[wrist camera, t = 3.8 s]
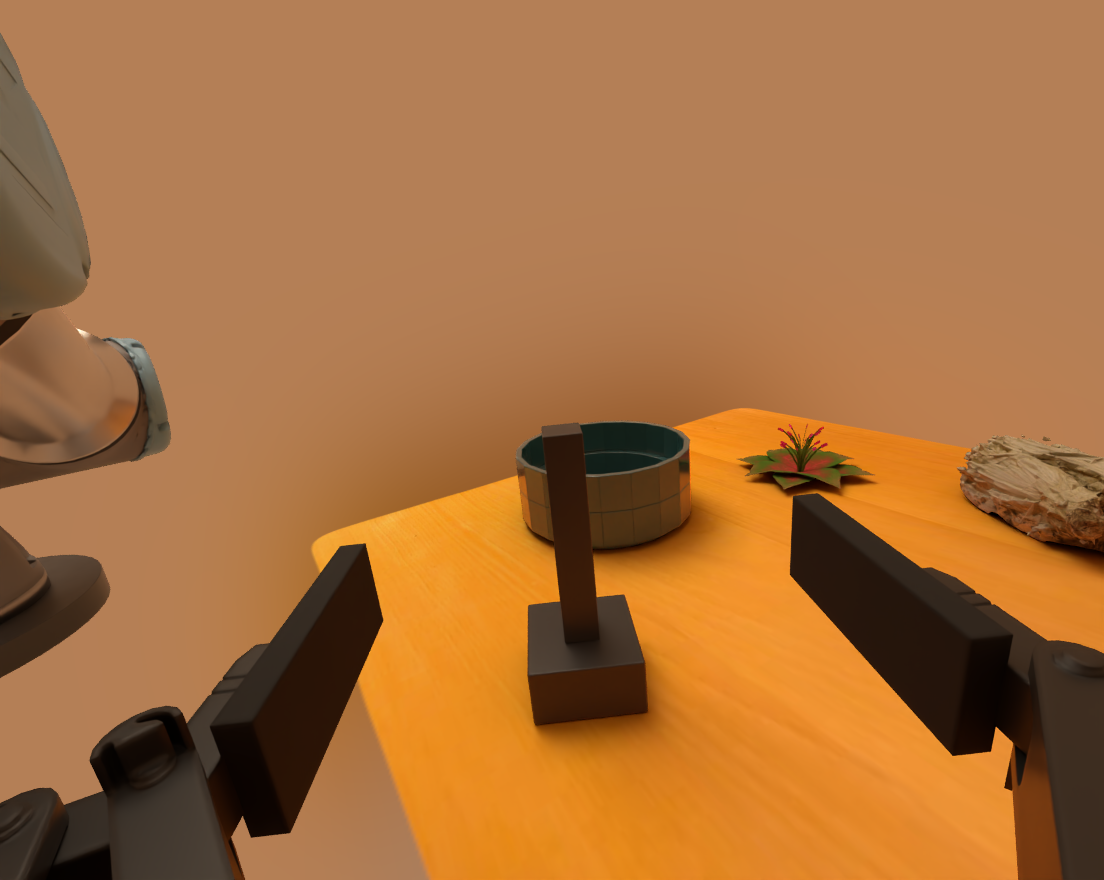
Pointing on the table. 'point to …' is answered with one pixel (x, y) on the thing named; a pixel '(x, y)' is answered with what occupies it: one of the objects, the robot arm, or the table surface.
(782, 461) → the lily flower
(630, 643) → the post on square base
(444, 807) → the table surface
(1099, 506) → the weathered wood chunk
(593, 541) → the bowl
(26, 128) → the robot arm
